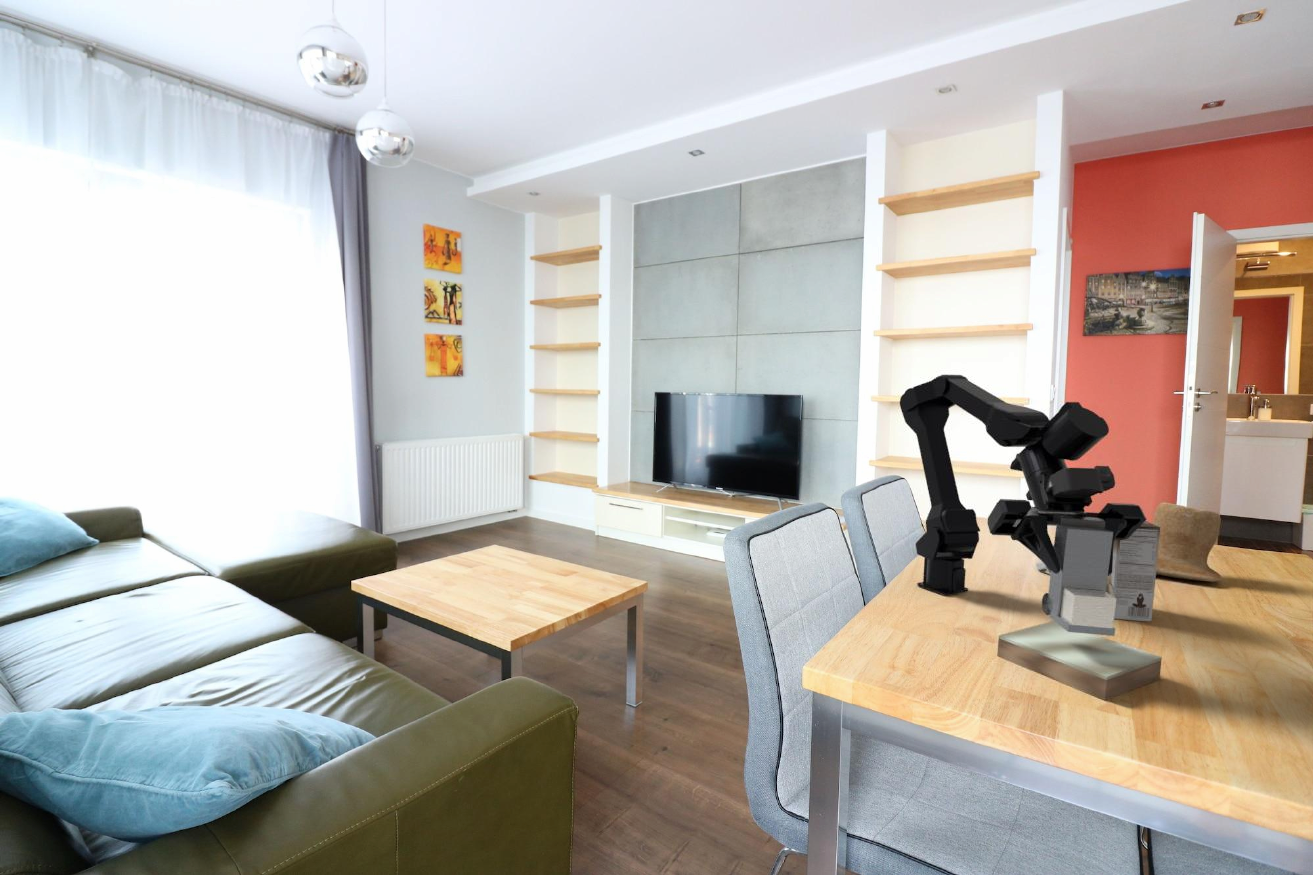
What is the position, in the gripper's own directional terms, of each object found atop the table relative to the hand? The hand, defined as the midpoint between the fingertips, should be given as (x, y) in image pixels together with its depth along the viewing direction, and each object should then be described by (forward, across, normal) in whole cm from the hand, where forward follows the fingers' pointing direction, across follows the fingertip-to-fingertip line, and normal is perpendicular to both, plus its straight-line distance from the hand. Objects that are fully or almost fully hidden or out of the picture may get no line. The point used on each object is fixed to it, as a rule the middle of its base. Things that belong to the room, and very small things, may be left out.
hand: (1083, 573), depth 84 cm
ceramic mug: (-22, +21, +42) cm, 52 cm away
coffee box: (-8, +20, +28) cm, 35 cm away
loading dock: (+9, 0, +10) cm, 13 cm away
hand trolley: (+4, 0, +6) cm, 7 cm away
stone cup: (-26, +44, +45) cm, 68 cm away
